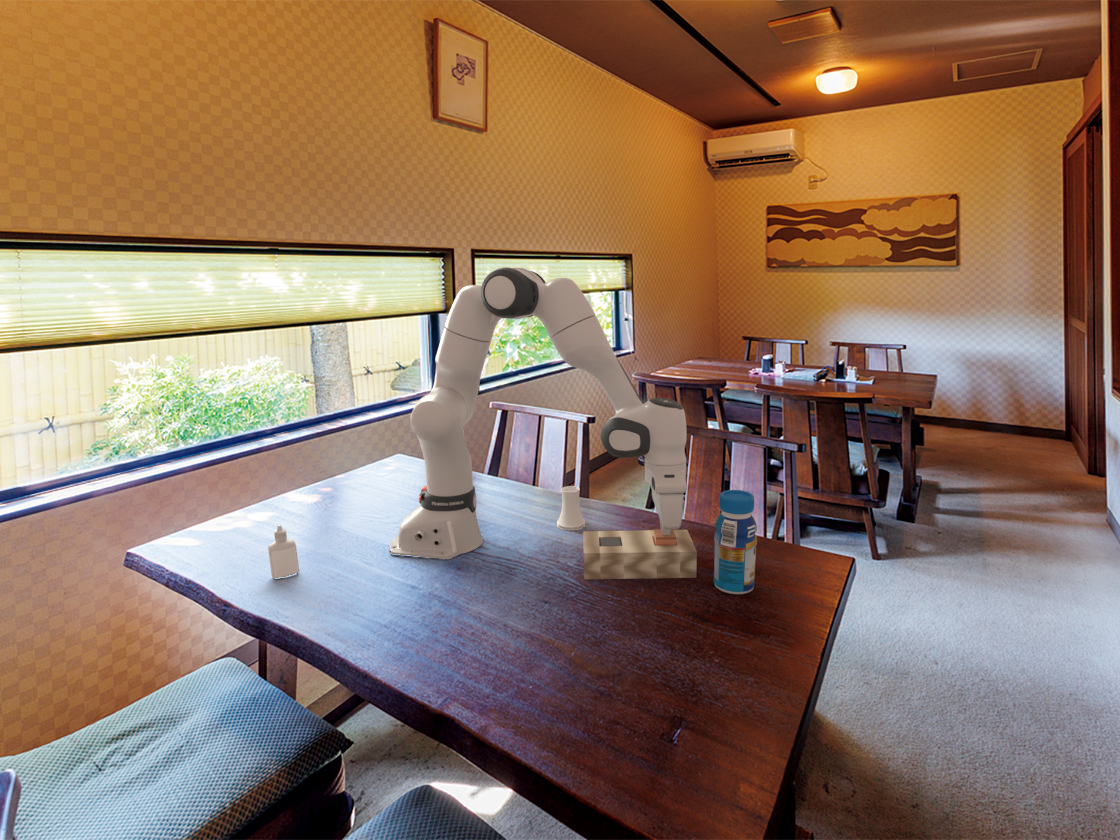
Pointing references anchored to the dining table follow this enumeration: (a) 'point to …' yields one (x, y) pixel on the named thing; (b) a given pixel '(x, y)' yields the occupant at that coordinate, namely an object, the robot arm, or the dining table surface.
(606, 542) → the charcoal plug
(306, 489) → the dining table surface
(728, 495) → the beverage bottle
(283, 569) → the eye dropper bottle
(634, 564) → the maple housing
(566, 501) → the vase
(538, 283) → the robot arm
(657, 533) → the terracotta plug
